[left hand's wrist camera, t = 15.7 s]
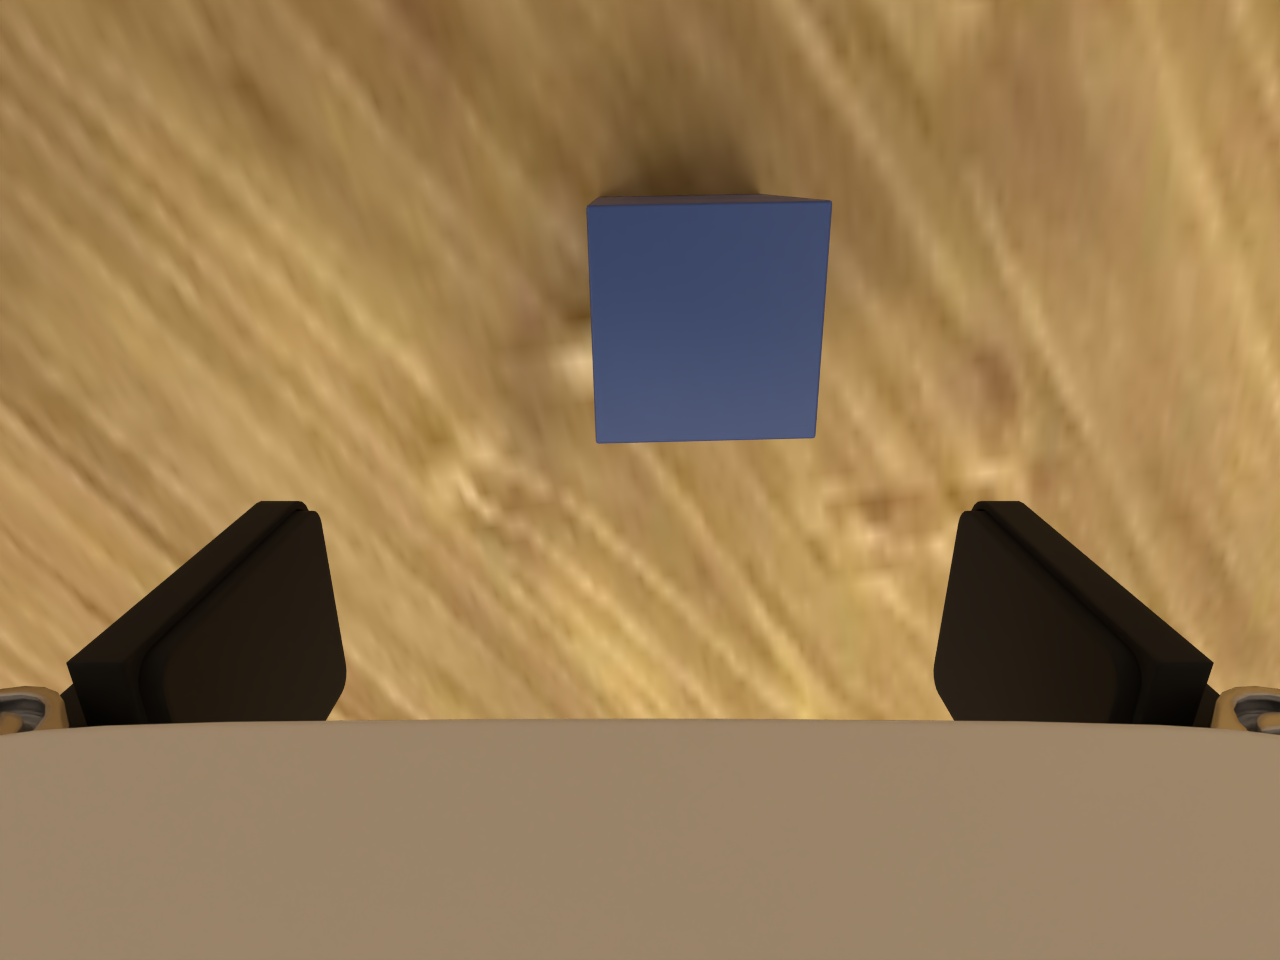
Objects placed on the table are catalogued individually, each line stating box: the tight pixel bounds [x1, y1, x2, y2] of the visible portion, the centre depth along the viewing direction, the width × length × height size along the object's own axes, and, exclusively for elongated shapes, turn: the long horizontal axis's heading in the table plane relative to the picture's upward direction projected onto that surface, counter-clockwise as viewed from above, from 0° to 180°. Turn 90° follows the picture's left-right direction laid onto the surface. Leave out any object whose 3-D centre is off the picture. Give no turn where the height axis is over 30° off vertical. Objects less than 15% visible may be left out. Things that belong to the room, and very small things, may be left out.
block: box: [586, 194, 832, 443], centre depth 22 cm, size 6×5×9 cm
